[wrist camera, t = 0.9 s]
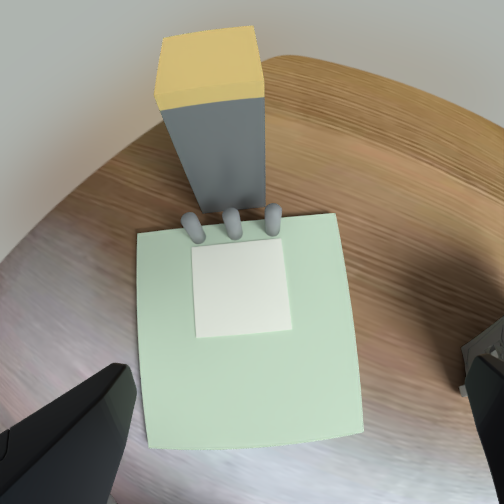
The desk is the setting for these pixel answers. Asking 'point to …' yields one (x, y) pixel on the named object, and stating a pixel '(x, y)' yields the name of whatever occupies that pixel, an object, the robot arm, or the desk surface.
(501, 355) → the electrical switch
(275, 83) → the desk surface
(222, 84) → the plug block
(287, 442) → the board
